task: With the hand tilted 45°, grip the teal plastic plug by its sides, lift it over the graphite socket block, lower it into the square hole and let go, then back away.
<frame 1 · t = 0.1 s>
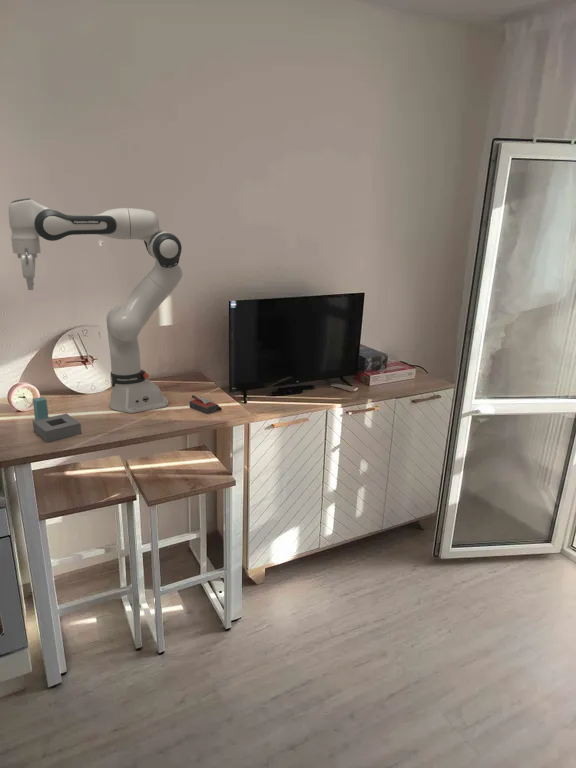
hand: (31, 287, 204), 48 cm above the table, tool pointing down, fingers open, 8 cm apart
plug: (41, 419, 215), on the table
socket: (57, 432, 203), on the table
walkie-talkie: (201, 407, 232), on the table
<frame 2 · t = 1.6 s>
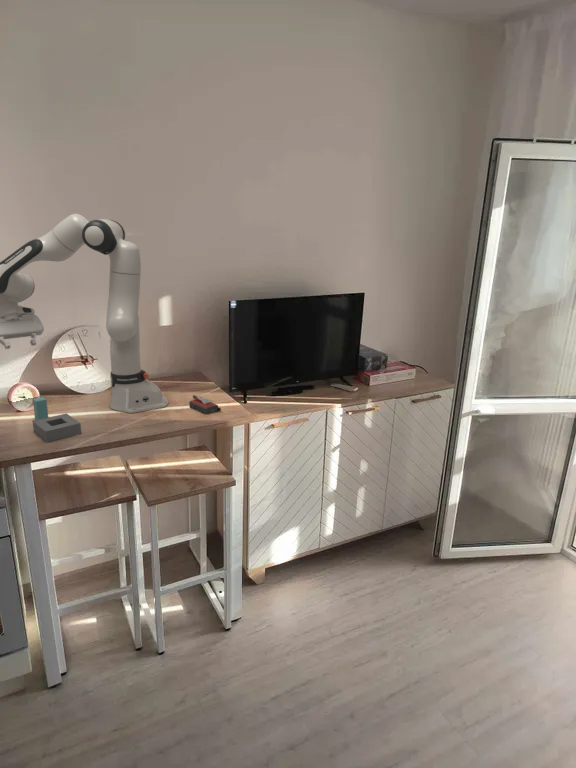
hand: (21, 346, 215), 26 cm above the table, tool tilted 45°, fingers open, 8 cm apart
nothing on the table moved.
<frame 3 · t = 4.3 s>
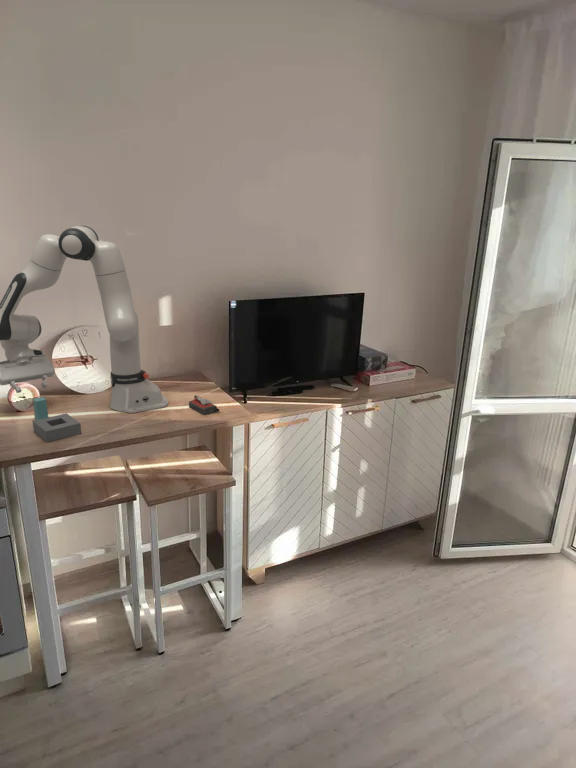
hand: (32, 389, 216), 10 cm above the table, tool tilted 45°, fingers open, 8 cm apart
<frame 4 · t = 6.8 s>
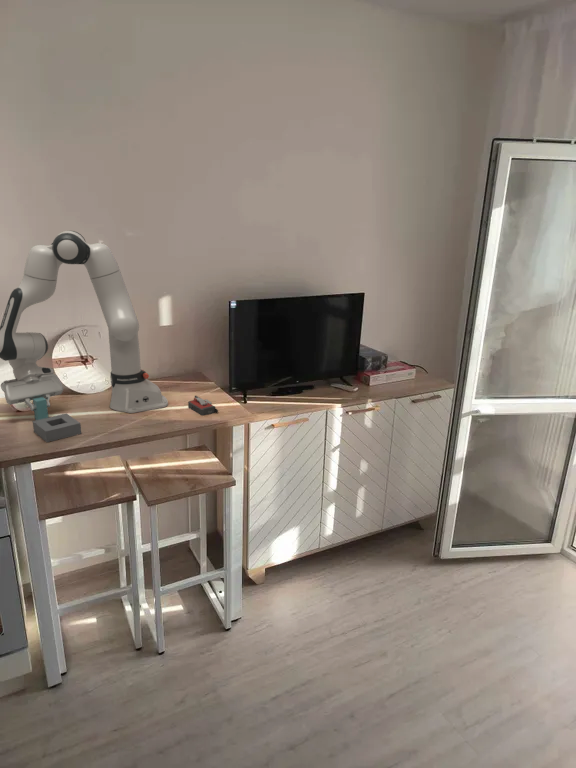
hand: (41, 408, 213), 5 cm above the table, tool tilted 45°, fingers closed on plug, 4 cm apart
plug: (41, 419, 215), on the table, touching gripper
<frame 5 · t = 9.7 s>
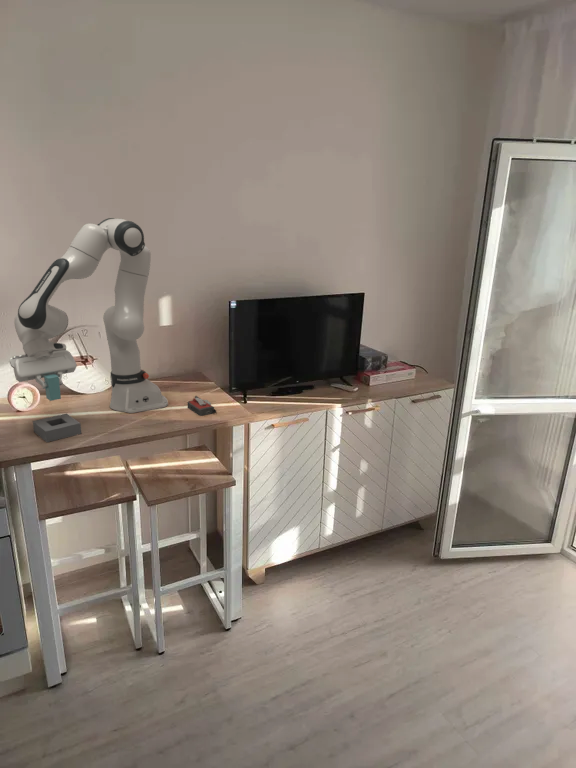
hand: (53, 386, 198), 17 cm above the table, tool tilted 45°, fingers closed on plug, 4 cm apart
plug: (53, 398, 199), point 13 cm above the table, touching gripper
when the fingers open (6 cm above the table, at t = 12.7 s): plug drops 2 cm, resting in socket.
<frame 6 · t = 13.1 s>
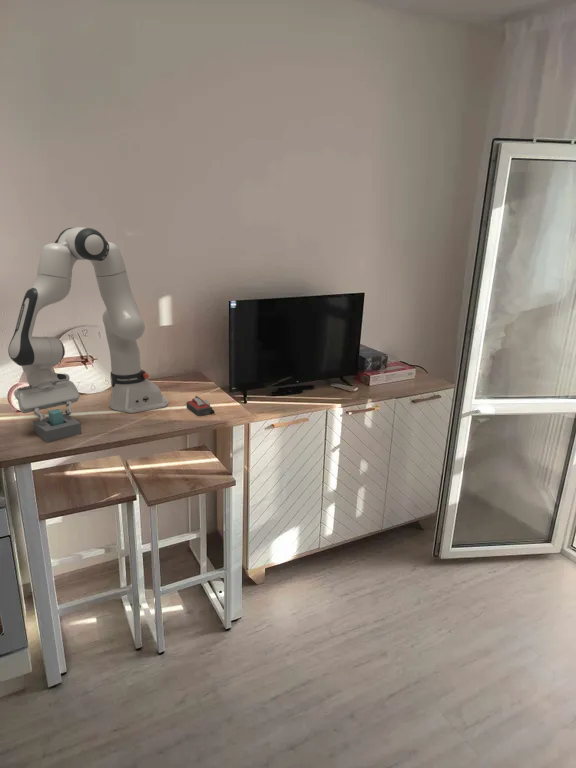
hand: (56, 417, 201), 6 cm above the table, tool tilted 45°, fingers open, 8 cm apart
plug: (57, 432, 203), resting in socket
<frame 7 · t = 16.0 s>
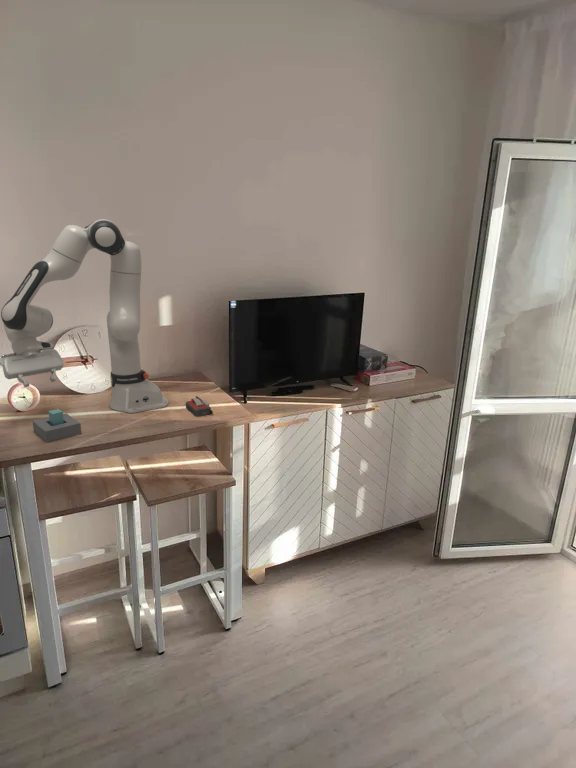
hand: (40, 383, 206), 15 cm above the table, tool tilted 45°, fingers open, 8 cm apart
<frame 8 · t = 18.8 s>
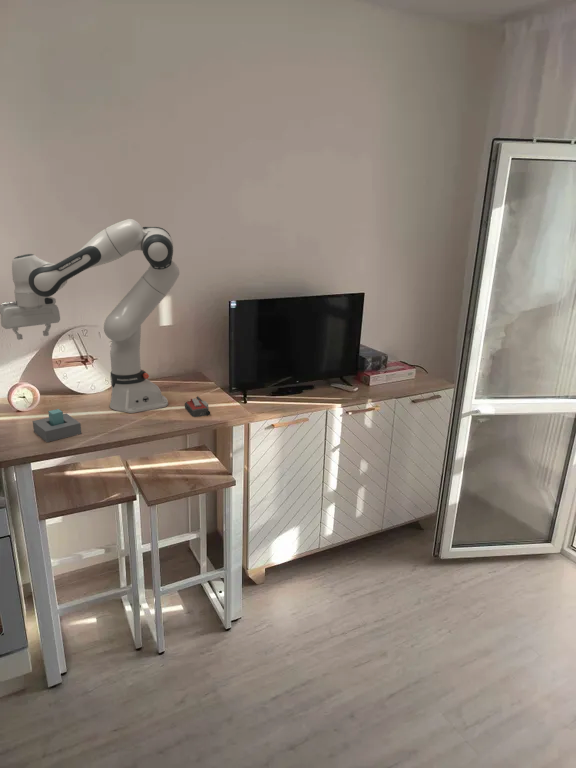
hand: (33, 337, 213), 29 cm above the table, tool pointing down, fingers open, 8 cm apart
at the end: plug 0.1 cm from the socket (horizontally); plug resting in socket; plug tilted 0° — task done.
